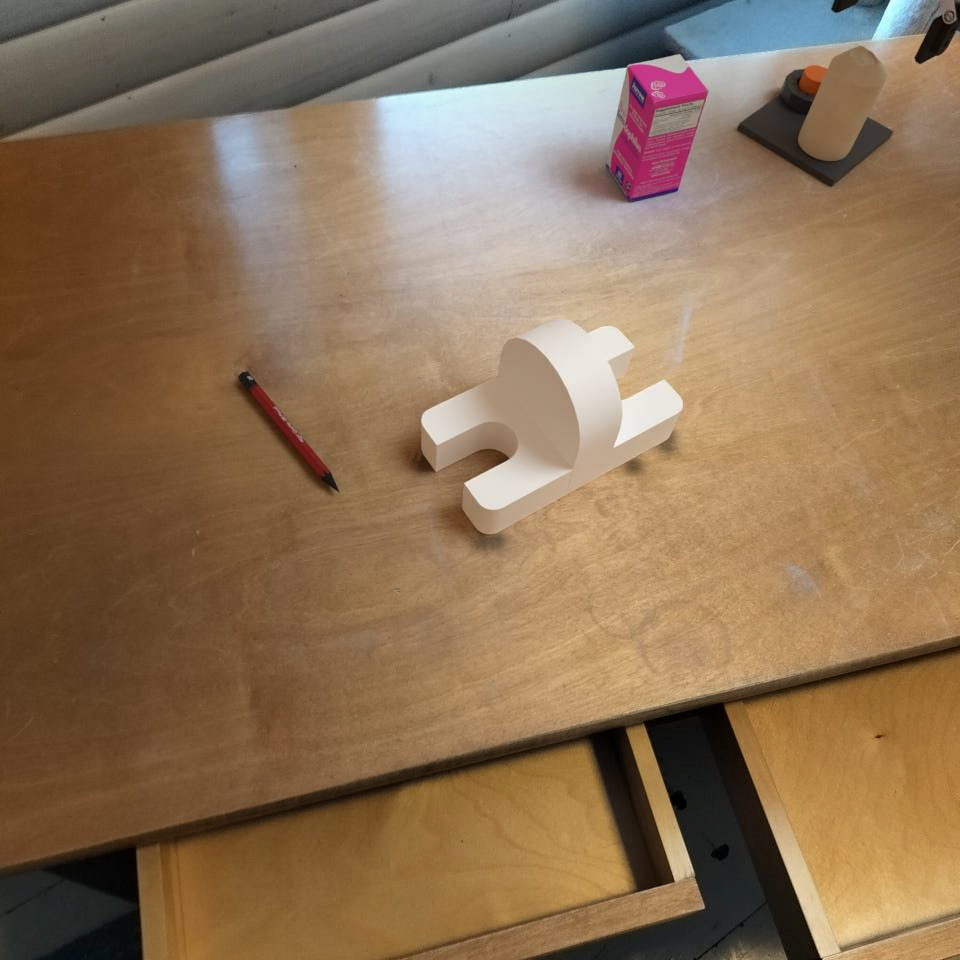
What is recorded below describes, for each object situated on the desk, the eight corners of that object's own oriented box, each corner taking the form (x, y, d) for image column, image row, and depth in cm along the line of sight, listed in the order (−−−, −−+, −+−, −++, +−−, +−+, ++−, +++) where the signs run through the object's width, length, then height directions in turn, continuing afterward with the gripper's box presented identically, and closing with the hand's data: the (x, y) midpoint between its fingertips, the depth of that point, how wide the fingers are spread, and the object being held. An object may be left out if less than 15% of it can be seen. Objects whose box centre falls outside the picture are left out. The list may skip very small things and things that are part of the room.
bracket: (484, 540, 64) (496, 458, 54) (415, 443, 68) (414, 350, 58) (677, 434, 70) (719, 343, 60) (603, 351, 74) (631, 253, 64)
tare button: (807, 76, 94) (814, 61, 92) (831, 89, 93) (837, 74, 91) (792, 87, 92) (799, 72, 91) (816, 100, 91) (822, 85, 90)
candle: (859, 156, 89) (906, 67, 80) (815, 166, 88) (858, 77, 79) (830, 123, 91) (872, 34, 83) (787, 133, 90) (825, 43, 82)
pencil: (335, 499, 65) (334, 492, 64) (239, 382, 70) (237, 374, 69) (345, 493, 65) (344, 486, 64) (249, 377, 70) (247, 369, 69)
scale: (796, 82, 97) (805, 62, 94) (892, 136, 92) (903, 116, 90) (733, 128, 91) (740, 107, 89) (830, 187, 87) (841, 167, 85)
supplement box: (602, 166, 87) (625, 62, 77) (653, 156, 88) (683, 51, 78) (627, 204, 84) (654, 100, 74) (679, 192, 86) (713, 89, 76)
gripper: (1112, -155, 62) (986, 64, 77) (920, -239, 69) (838, -23, 84) (1054, -128, 60) (935, 93, 74) (861, -218, 67) (786, 1, 81)
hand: (883, 32), depth 79 cm, fingers open, 9 cm apart
